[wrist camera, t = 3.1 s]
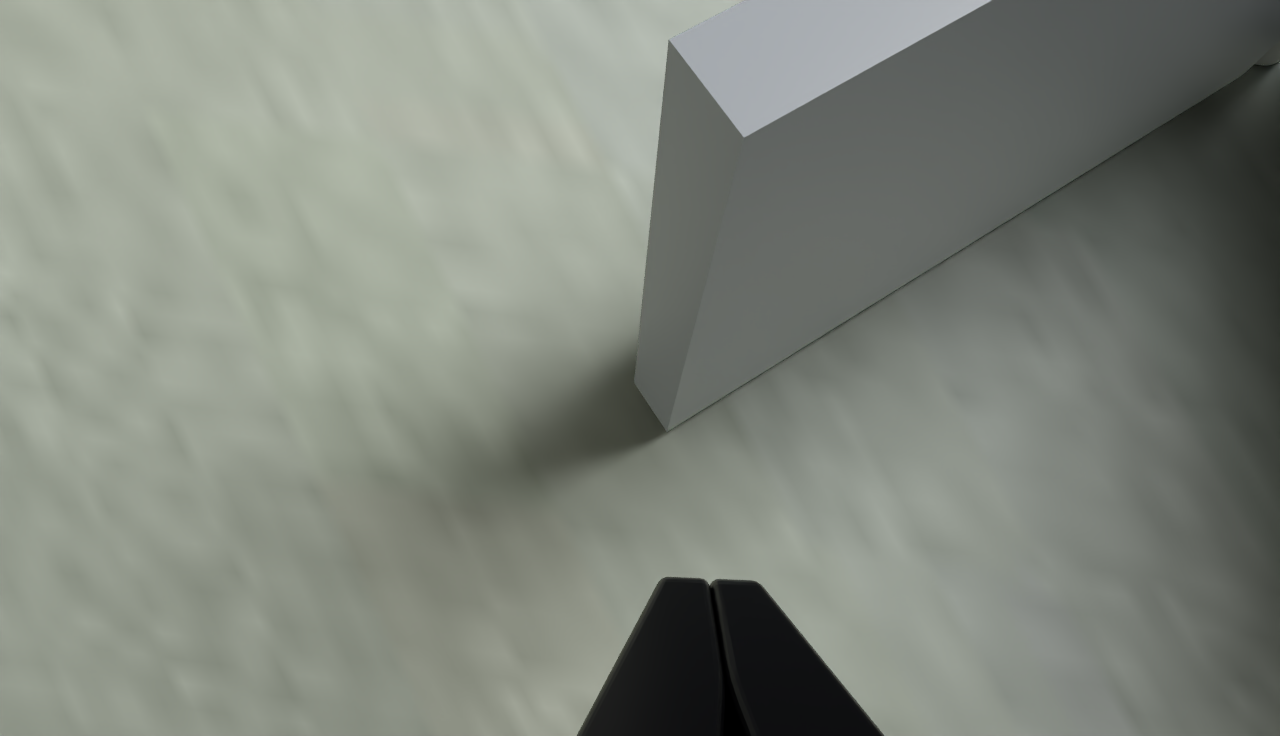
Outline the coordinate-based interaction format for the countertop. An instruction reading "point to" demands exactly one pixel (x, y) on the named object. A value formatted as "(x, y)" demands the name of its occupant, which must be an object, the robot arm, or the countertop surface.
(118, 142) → the countertop surface
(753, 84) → the side door
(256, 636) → the countertop surface
